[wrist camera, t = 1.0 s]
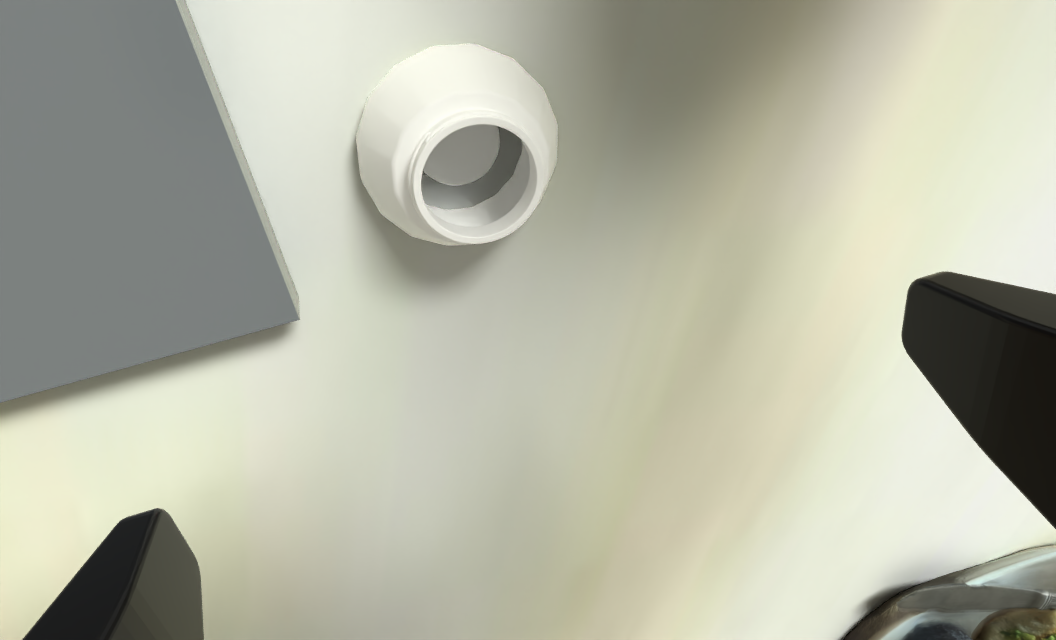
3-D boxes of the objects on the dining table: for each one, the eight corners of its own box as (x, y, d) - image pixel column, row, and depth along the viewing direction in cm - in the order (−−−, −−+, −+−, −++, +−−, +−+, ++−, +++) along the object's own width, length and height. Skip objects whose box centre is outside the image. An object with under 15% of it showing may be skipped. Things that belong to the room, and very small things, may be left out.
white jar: (585, 131, 20) (448, -6, 18) (627, 168, 18) (474, 15, 15) (461, 265, 21) (313, 154, 19) (484, 317, 19) (318, 199, 16)
